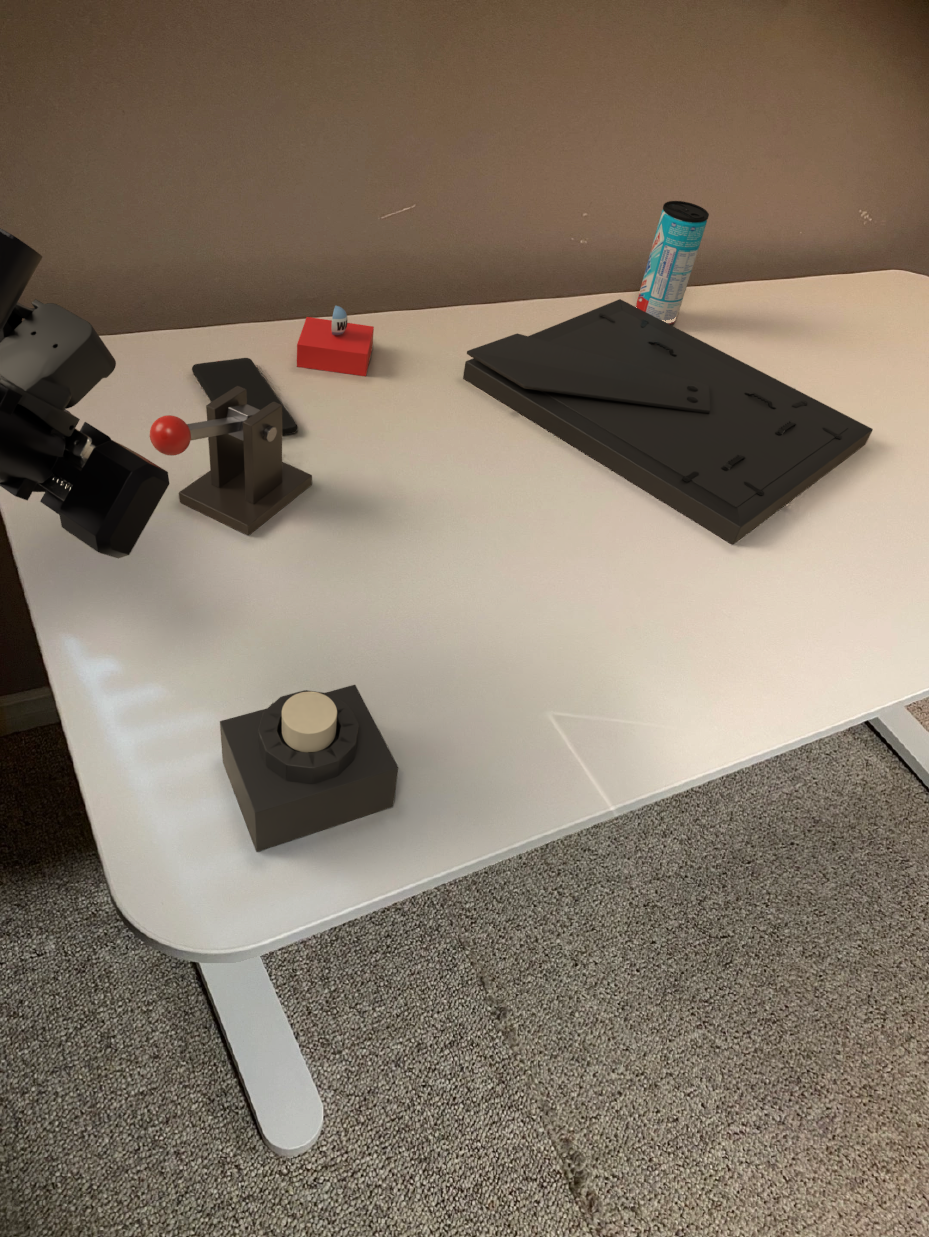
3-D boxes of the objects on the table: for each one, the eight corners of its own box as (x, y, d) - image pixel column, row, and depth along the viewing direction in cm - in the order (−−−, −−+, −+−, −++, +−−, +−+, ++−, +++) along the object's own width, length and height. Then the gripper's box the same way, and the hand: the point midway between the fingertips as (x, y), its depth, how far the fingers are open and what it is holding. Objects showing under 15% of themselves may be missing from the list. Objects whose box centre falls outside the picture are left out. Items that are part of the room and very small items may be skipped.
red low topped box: (372, 348, 113) (375, 298, 108) (365, 376, 108) (369, 325, 103) (306, 338, 112) (307, 288, 108) (296, 366, 107) (297, 315, 103)
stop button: (292, 759, 61) (292, 739, 59) (274, 718, 63) (274, 699, 62) (343, 743, 62) (345, 724, 61) (324, 705, 64) (325, 685, 63)
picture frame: (462, 378, 110) (732, 545, 94) (466, 350, 108) (744, 517, 92) (615, 314, 128) (864, 445, 112) (622, 289, 126) (878, 419, 109)
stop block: (256, 852, 62) (254, 796, 58) (222, 761, 67) (218, 703, 63) (393, 807, 66) (401, 751, 62) (352, 724, 71) (356, 667, 67)
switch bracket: (248, 536, 85) (245, 446, 78) (179, 502, 87) (170, 412, 80) (312, 484, 92) (314, 398, 85) (246, 454, 94) (243, 368, 87)
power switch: (169, 464, 74) (175, 426, 73) (138, 449, 75) (144, 411, 74) (265, 443, 85) (272, 410, 84) (237, 430, 86) (243, 397, 85)
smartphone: (250, 356, 106) (300, 427, 97) (250, 362, 106) (299, 433, 98) (189, 363, 103) (235, 437, 94) (190, 370, 103) (235, 444, 95)
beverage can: (657, 307, 132) (689, 199, 122) (683, 327, 128) (718, 217, 118) (624, 312, 129) (654, 202, 119) (650, 332, 126) (682, 221, 116)
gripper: (125, 348, 49) (275, 443, 64) (-88, 227, 55) (93, 339, 70) (22, 532, 49) (194, 584, 64) (-177, 390, 56) (21, 467, 70)
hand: (124, 486), depth 67 cm, fingers closed
